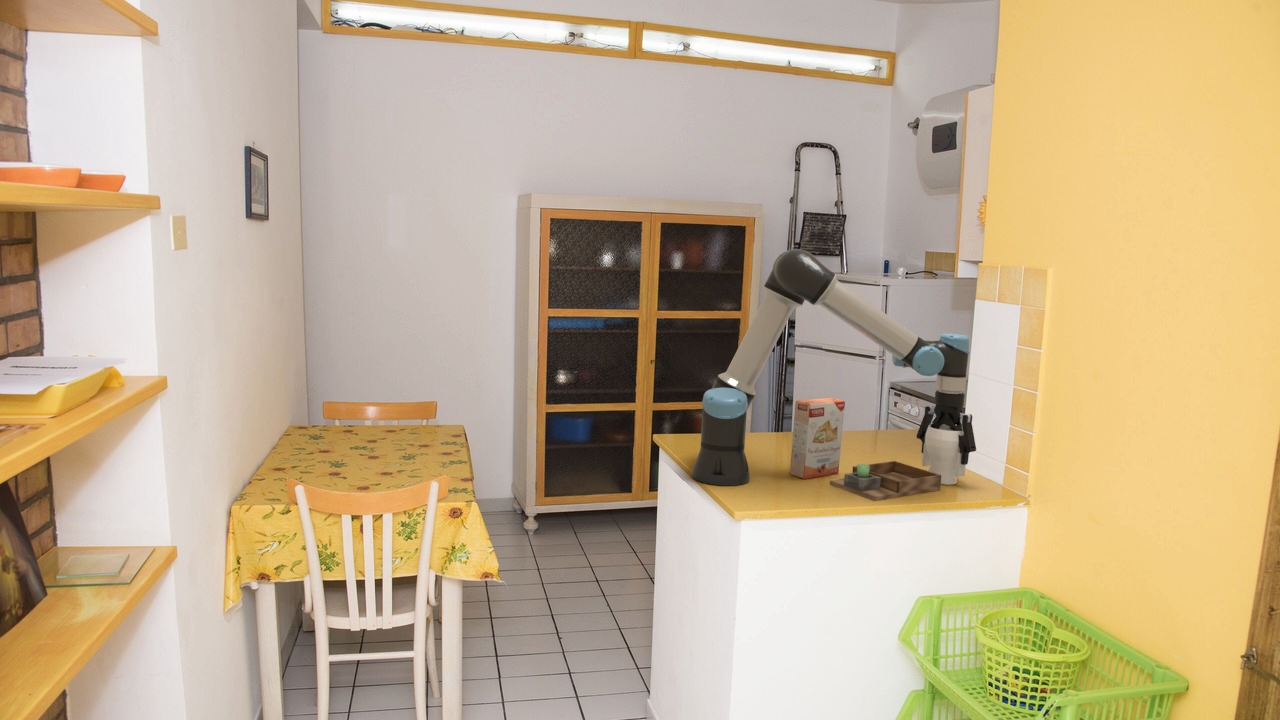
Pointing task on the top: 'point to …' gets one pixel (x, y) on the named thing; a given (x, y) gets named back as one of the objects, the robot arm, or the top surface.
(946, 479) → the cup
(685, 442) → the top surface
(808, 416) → the cracker box
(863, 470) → the button
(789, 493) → the top surface
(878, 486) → the wooden tray
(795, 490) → the top surface
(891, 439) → the top surface
